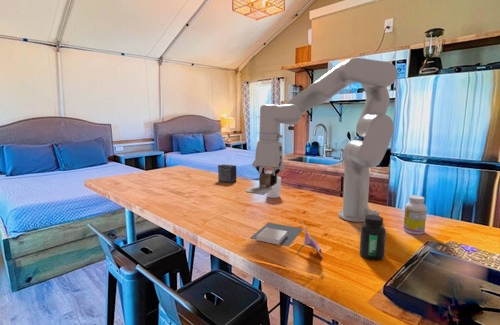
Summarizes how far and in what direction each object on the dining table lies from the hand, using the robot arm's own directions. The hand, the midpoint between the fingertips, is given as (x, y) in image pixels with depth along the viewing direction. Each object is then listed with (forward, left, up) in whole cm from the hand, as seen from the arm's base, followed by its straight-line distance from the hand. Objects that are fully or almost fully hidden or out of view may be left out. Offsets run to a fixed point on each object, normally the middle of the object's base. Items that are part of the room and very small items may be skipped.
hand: (267, 183), depth 111 cm
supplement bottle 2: (-51, -14, -15) cm, 55 cm away
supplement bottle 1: (-39, +12, -15) cm, 44 cm away
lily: (-23, +20, -16) cm, 34 cm away
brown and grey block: (0, +3, -1) cm, 4 cm away
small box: (+52, -53, -15) cm, 75 cm away
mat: (-8, +10, -15) cm, 20 cm away
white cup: (+12, -34, -15) cm, 39 cm away
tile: (-8, +11, -14) cm, 20 cm away
